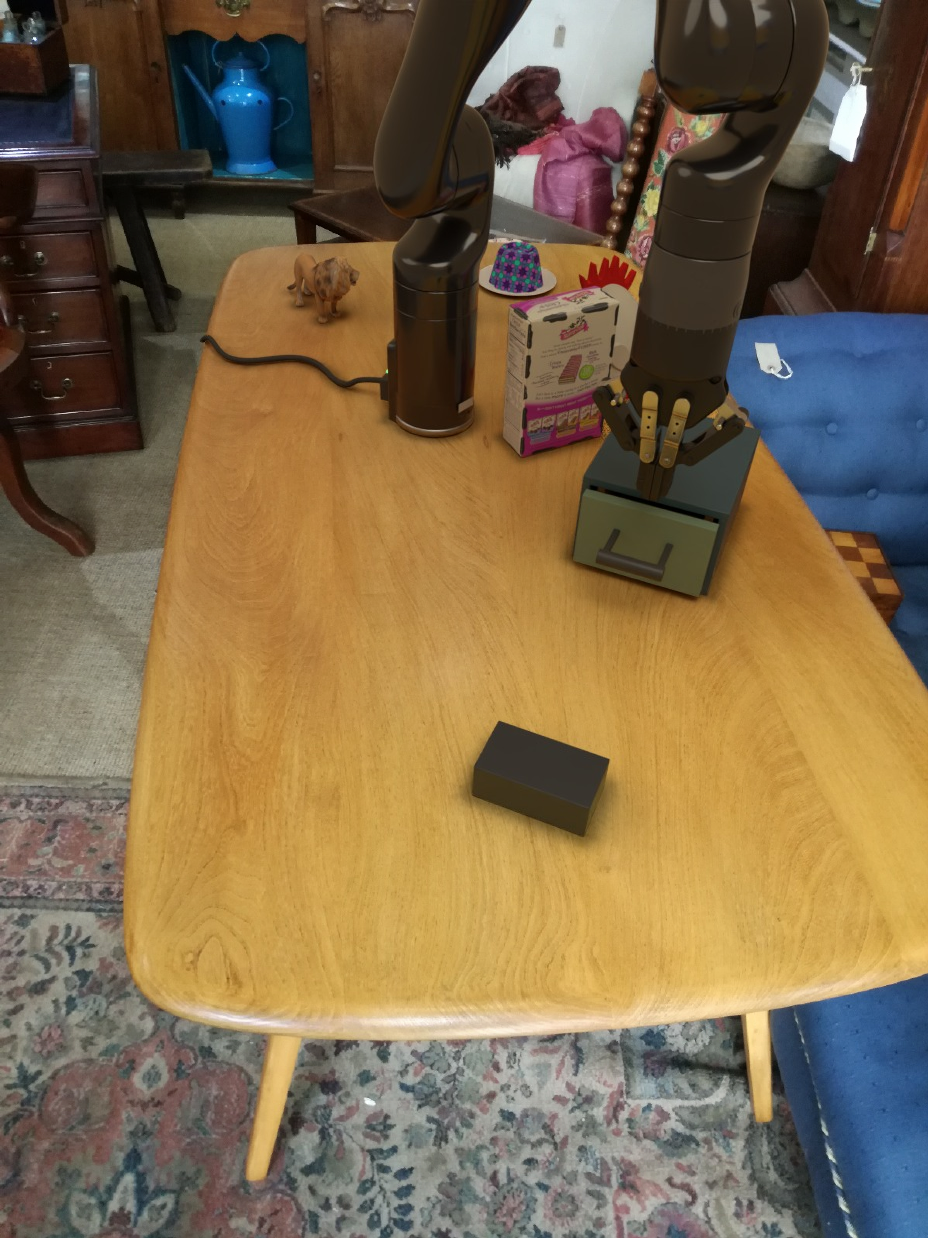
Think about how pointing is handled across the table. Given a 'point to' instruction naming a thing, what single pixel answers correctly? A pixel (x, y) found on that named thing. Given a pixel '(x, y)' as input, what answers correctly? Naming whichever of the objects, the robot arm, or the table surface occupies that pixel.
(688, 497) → the cabinet
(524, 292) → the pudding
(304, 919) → the table surface
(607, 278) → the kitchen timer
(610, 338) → the candy bar box
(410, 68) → the robot arm
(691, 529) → the drawer
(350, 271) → the lion figurine
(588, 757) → the matte charcoal brick
